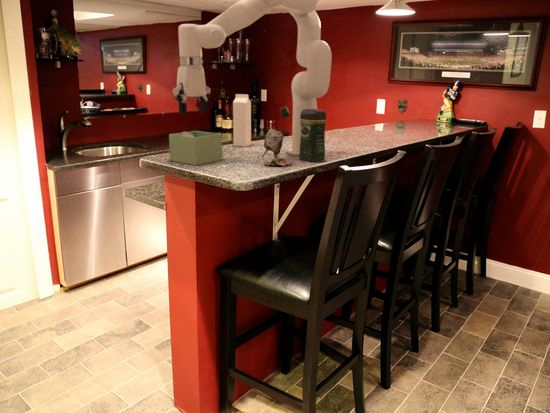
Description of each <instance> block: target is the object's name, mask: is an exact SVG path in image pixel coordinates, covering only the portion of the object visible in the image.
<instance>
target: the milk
mask: <svg viewBox="0 0 550 413" xmlns="http://www.w3.org/2000/svg"><path fill="white" fill-rule="evenodd" d="M232 119H233V120H232V124H233V127H232V128H233V129H232V131H233V132H232V133H233V134H232V135H233V147H249V146H251V145H252V101H251V99H250V98H249V94H245V93H236V94H235V98H234V100H233V101H232Z"/></svg>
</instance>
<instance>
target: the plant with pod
mask: <svg viewBox="0 0 550 413" xmlns="http://www.w3.org/2000/svg"><path fill="white" fill-rule="evenodd" d="M279 113H280V116H281V118H282V122H281V131H279V130H276V129H274V128H270V129H269V130H268V131H267V133H266V135H265V138H264V140H263V147H264V149H265V151H264V153H262V155H261V158H264V156H265V155H266V154H267V153H268V151H270V152H272V153H273V158H272V160H271V161H269V162H267V163H265V165H267V166H275V165H279V166H283V167H285V166H287V165H288V164H289V165H293V162H289V161H287V160H286V158H285V157H281V155H280V153H281V150H282V147H283V143H284V142H283V141H284V134H283V129H284V123H285V118H288V119H291V115H290V114H291V113H290V111H289V108H288V107H287V106H284V107H281V108H280V109H279Z"/></svg>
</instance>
